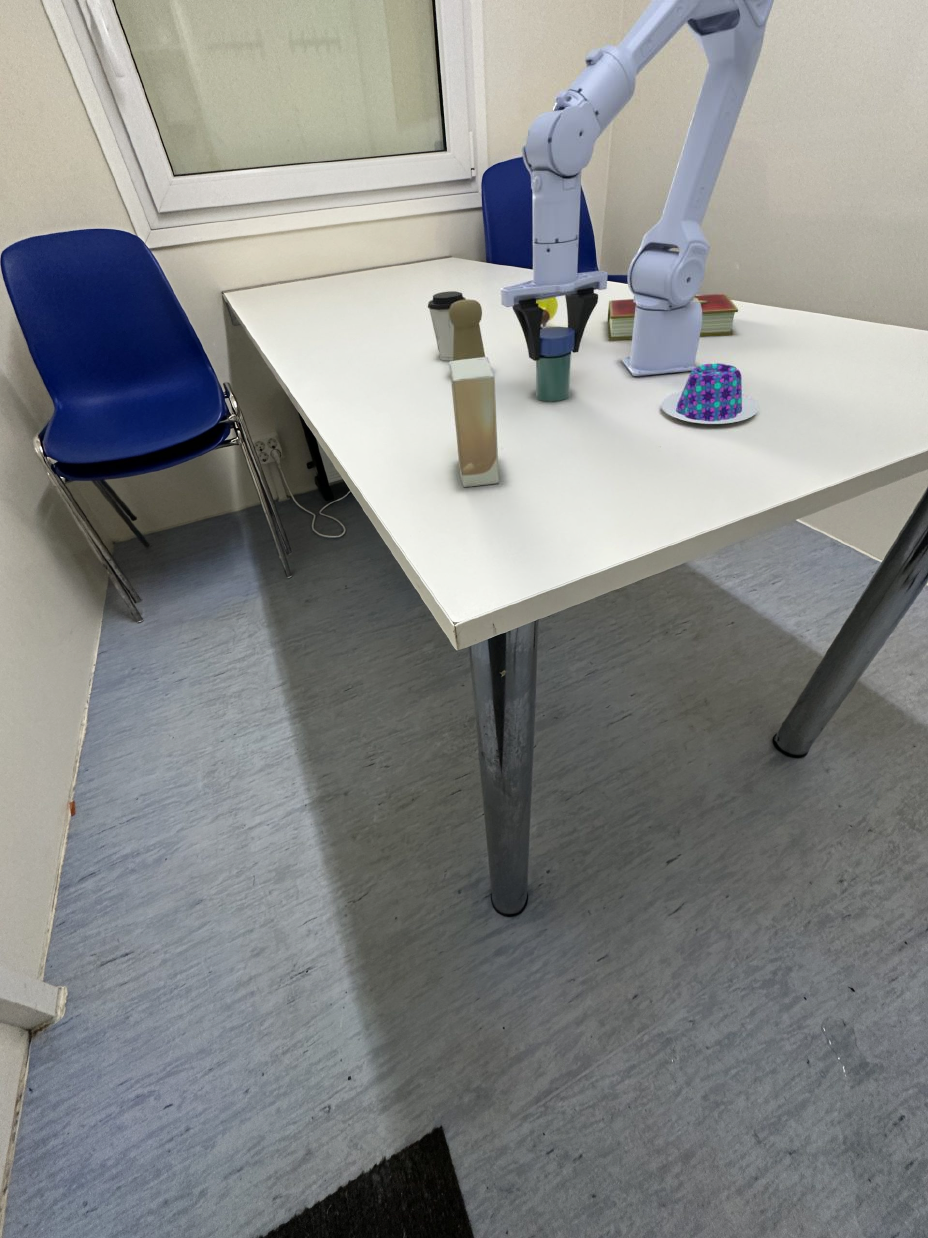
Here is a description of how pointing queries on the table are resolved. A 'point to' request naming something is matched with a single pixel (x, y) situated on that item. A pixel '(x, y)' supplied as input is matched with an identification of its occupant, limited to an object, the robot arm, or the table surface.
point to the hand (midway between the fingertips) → (553, 354)
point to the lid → (556, 340)
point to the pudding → (711, 397)
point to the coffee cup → (444, 321)
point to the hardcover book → (714, 306)
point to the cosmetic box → (475, 420)
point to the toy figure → (547, 309)
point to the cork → (466, 329)
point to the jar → (553, 377)
